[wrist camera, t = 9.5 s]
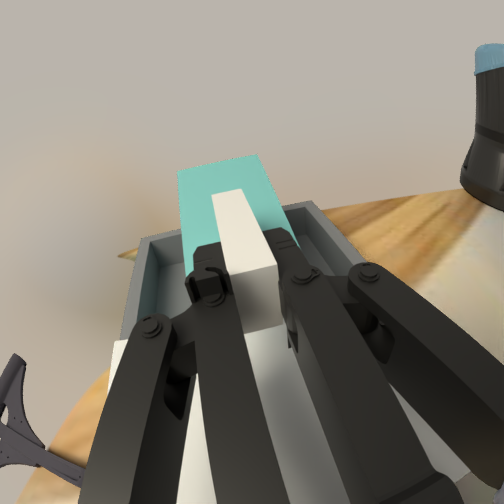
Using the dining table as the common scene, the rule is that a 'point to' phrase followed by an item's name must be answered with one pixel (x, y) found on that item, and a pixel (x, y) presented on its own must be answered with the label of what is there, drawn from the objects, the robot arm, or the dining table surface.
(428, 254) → the dining table surface
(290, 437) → the white flat box
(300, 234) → the tray
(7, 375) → the bracket
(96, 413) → the dining table surface
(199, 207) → the block
